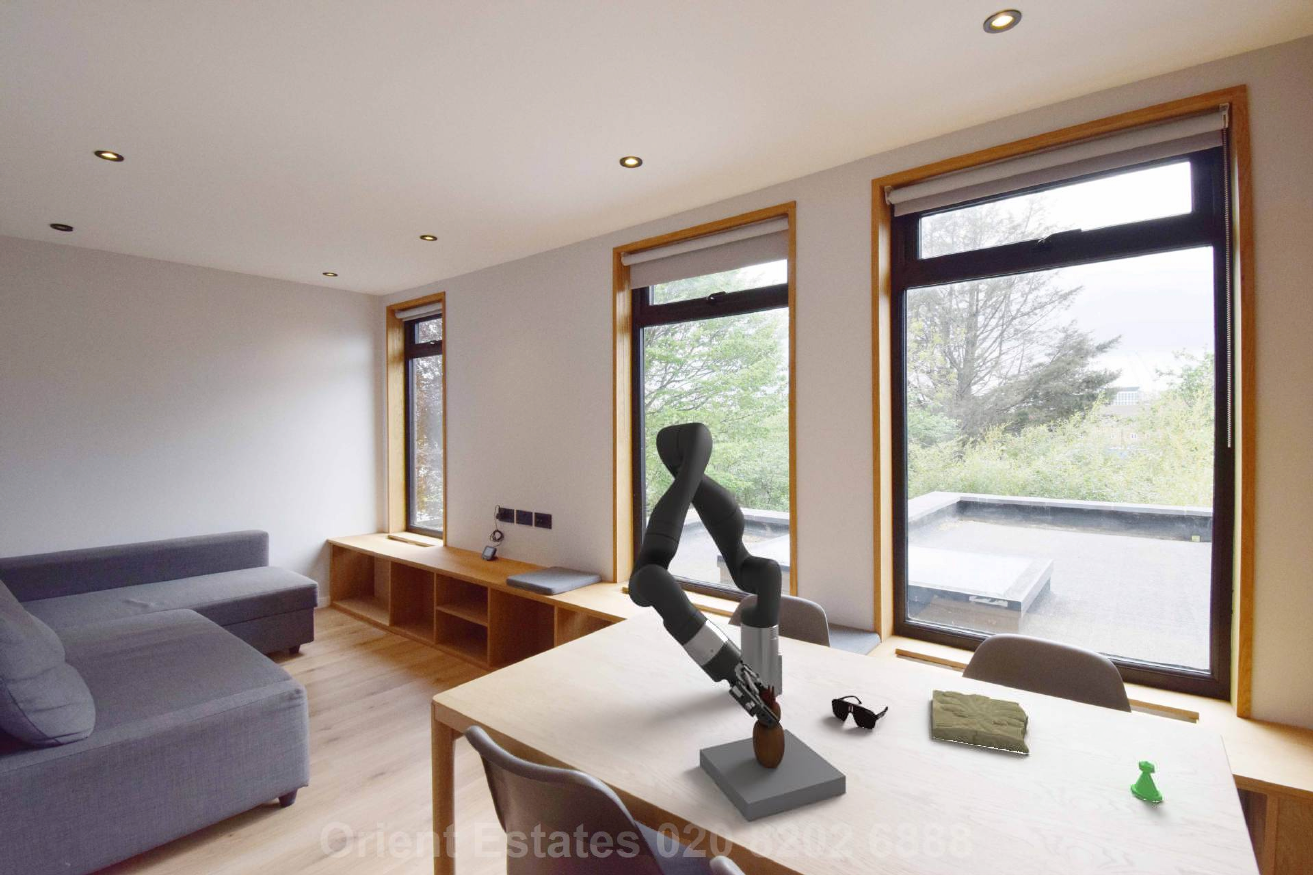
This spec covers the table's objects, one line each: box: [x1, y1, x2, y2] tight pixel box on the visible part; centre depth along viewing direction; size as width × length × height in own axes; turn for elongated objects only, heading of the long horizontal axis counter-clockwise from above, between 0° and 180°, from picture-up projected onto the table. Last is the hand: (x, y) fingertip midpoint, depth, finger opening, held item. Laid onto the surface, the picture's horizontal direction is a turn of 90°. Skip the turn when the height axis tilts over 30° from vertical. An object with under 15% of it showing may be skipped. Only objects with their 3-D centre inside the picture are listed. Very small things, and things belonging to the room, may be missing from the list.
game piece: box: [1130, 760, 1163, 803], centre depth 104 cm, size 4×4×6 cm
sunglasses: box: [831, 695, 889, 730], centre depth 133 cm, size 10×12×5 cm
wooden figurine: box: [752, 685, 785, 768], centre depth 109 cm, size 7×6×15 cm
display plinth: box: [699, 728, 847, 823], centre depth 109 cm, size 20×18×3 cm
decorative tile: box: [931, 689, 1030, 754], centre depth 128 cm, size 19×20×4 cm
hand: (774, 713), depth 109 cm, fingers open, 8 cm apart
